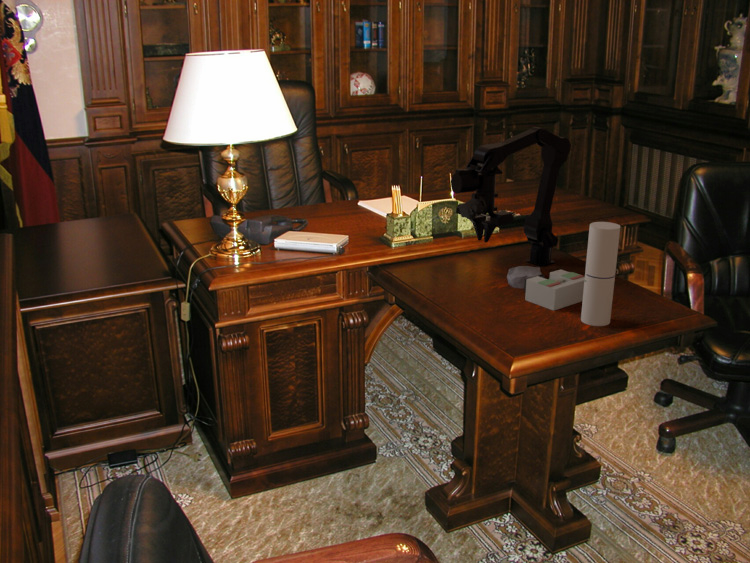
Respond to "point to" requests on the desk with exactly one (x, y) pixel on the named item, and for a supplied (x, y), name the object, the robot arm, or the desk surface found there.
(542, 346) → the desk surface
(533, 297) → the block
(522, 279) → the stone block
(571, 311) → the desk surface
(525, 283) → the black rectangular block
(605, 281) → the cylindrical container
